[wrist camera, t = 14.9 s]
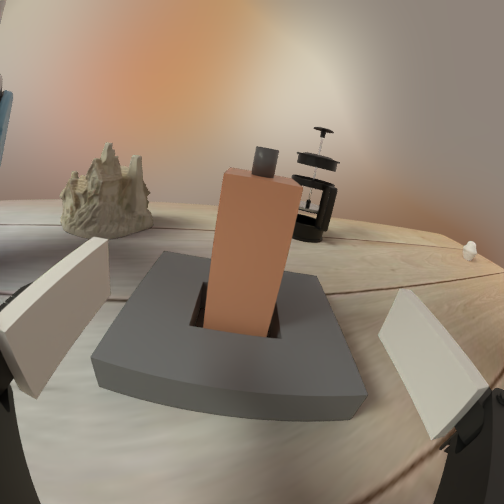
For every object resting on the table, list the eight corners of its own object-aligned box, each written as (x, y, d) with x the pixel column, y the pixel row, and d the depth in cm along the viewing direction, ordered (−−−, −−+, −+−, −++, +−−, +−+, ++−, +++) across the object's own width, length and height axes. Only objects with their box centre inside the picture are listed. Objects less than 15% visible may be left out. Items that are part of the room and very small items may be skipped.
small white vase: (462, 255, 78) (468, 238, 75) (475, 262, 73) (481, 244, 70) (457, 255, 75) (464, 237, 73) (470, 263, 70) (477, 244, 68)
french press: (269, 225, 60) (290, 121, 52) (302, 226, 65) (322, 131, 56) (302, 246, 51) (329, 124, 42) (336, 245, 55) (362, 137, 47)
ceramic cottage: (165, 226, 47) (168, 141, 42) (83, 250, 34) (78, 144, 28) (120, 211, 54) (121, 142, 49) (53, 227, 41) (50, 147, 36)
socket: (98, 386, 15) (90, 357, 14) (163, 273, 32) (164, 250, 31) (350, 419, 16) (368, 394, 15) (309, 297, 33) (316, 275, 32)
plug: (201, 348, 21) (229, 141, 16) (208, 315, 26) (234, 143, 20) (260, 357, 22) (309, 156, 16) (259, 322, 26) (296, 154, 21)
